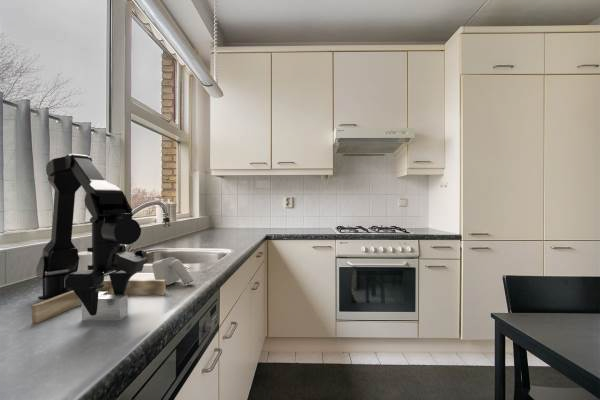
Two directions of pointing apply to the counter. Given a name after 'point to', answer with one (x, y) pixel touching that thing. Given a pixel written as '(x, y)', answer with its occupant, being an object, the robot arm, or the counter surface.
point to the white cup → (84, 260)
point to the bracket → (108, 308)
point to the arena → (71, 300)
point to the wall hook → (171, 271)
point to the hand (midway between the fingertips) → (107, 308)
